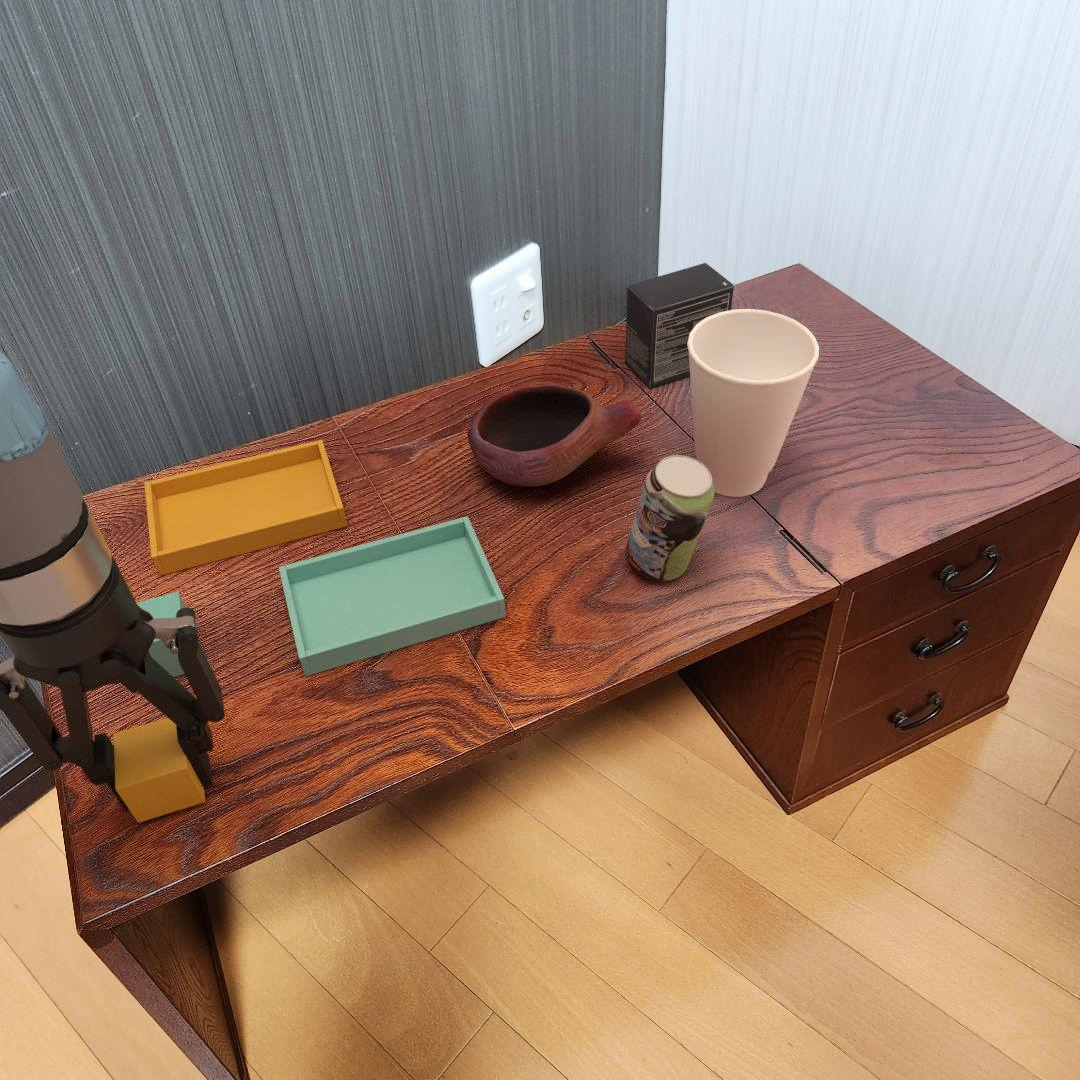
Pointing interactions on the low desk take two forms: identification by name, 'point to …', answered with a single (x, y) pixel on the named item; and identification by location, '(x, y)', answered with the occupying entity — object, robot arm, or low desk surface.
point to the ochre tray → (241, 507)
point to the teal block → (158, 651)
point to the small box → (670, 320)
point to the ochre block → (154, 771)
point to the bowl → (544, 432)
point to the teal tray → (389, 594)
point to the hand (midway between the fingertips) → (168, 782)
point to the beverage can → (669, 517)
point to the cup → (746, 392)
